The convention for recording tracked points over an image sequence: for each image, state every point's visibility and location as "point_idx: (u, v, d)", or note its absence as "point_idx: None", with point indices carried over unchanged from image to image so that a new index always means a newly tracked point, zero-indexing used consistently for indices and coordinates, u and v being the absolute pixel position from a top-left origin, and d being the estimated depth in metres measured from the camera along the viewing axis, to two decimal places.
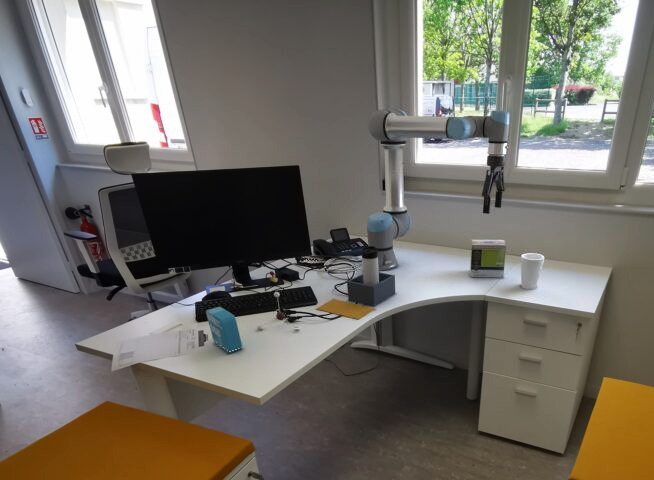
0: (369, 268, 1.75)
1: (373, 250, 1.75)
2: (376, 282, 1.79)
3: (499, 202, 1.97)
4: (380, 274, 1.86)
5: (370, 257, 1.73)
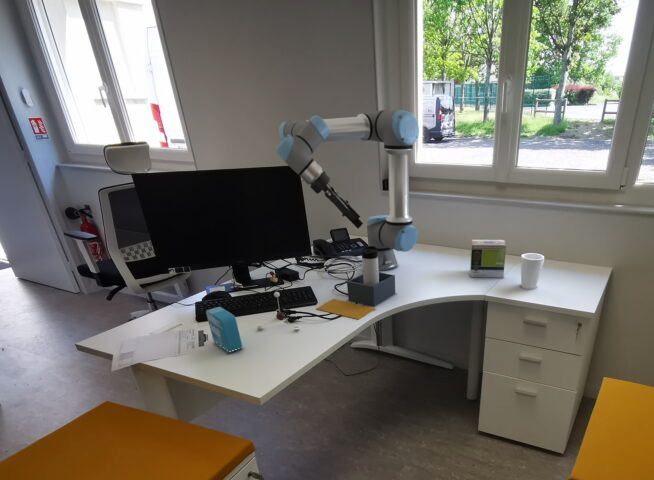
0: (369, 268, 1.75)
1: (373, 250, 1.75)
2: (376, 282, 1.79)
3: None
4: (380, 274, 1.86)
5: (370, 257, 1.73)
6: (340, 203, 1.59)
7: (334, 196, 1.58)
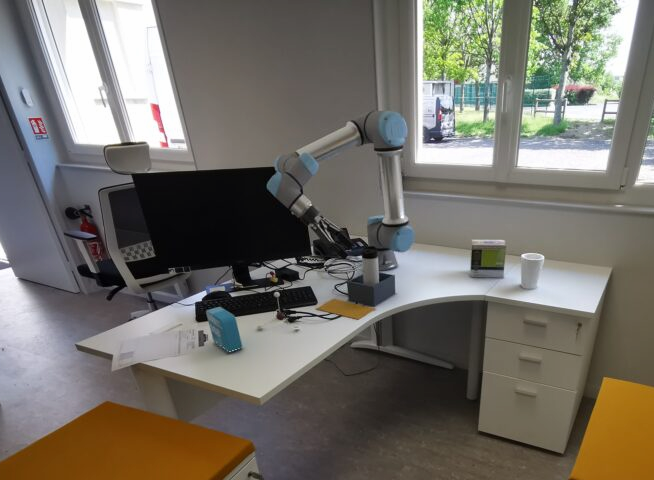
0: (369, 268, 1.75)
1: (373, 250, 1.75)
2: (376, 282, 1.79)
3: None
4: (380, 274, 1.86)
5: (370, 257, 1.73)
6: (324, 236, 1.64)
7: (319, 230, 1.64)
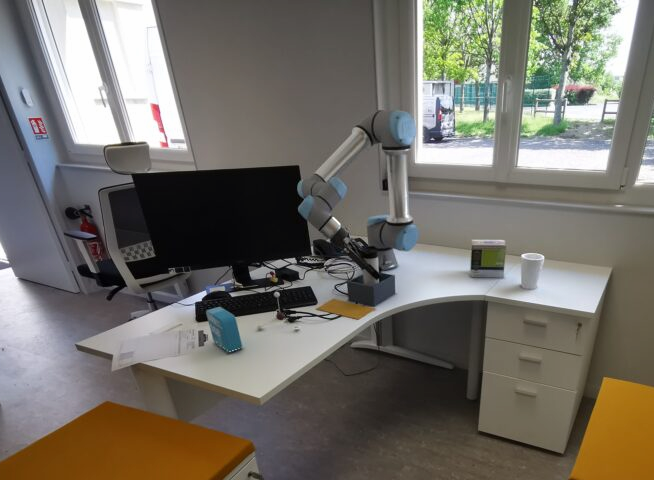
0: None
1: (373, 250, 1.75)
2: (376, 282, 1.79)
3: None
4: None
5: (370, 257, 1.73)
6: (358, 259, 1.70)
7: (352, 253, 1.69)
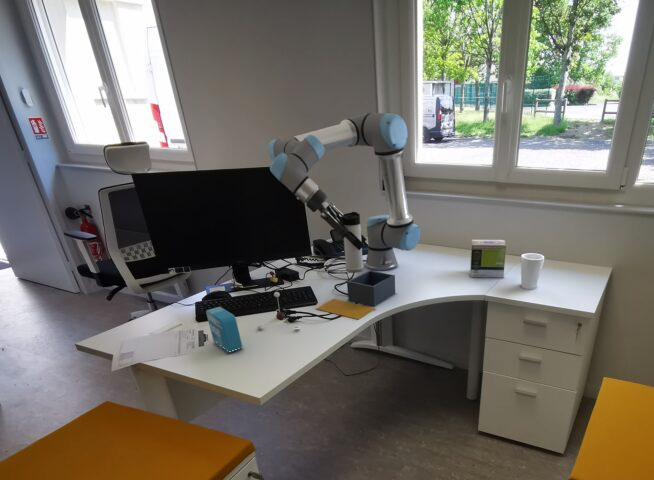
0: None
1: (355, 216, 1.57)
2: (359, 252, 1.62)
3: None
4: (380, 274, 1.86)
5: (352, 223, 1.56)
6: (338, 226, 1.52)
7: (331, 218, 1.52)
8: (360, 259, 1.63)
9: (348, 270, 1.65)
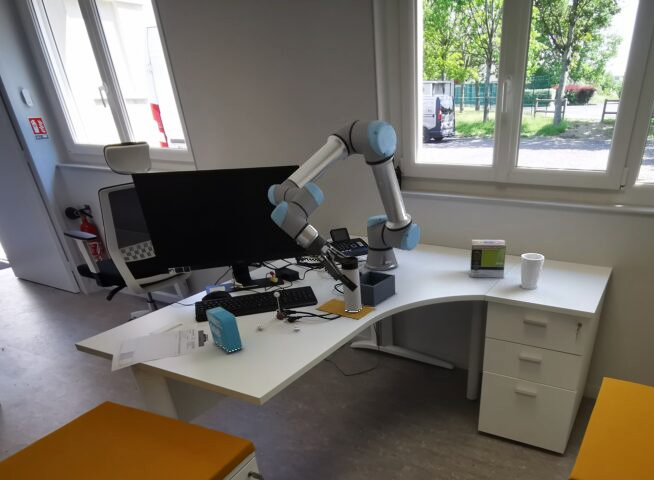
0: None
1: (353, 260, 1.62)
2: (357, 294, 1.67)
3: None
4: (380, 274, 1.86)
5: (350, 268, 1.61)
6: (332, 269, 1.55)
7: (326, 261, 1.55)
8: (358, 300, 1.69)
9: None
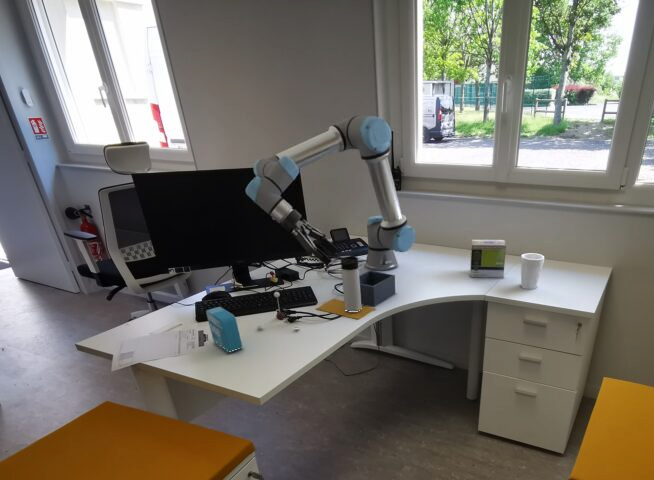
0: (349, 280, 1.63)
1: (353, 260, 1.62)
2: (357, 294, 1.67)
3: None
4: (380, 274, 1.86)
5: (350, 268, 1.61)
6: (306, 242, 1.59)
7: (300, 235, 1.59)
8: (358, 300, 1.69)
9: None
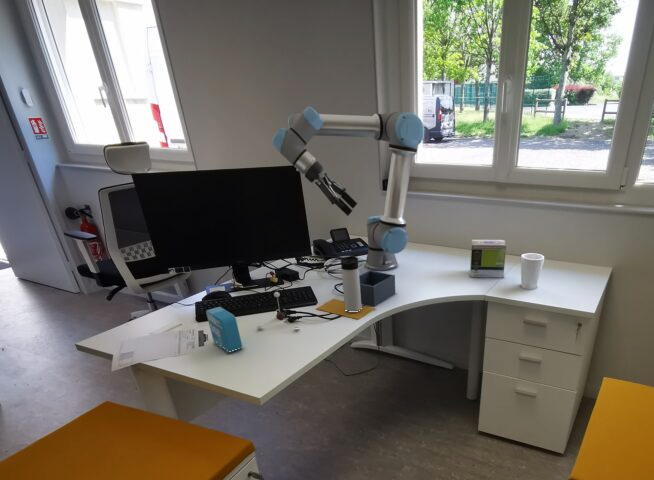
0: (349, 280, 1.63)
1: (353, 260, 1.62)
2: (357, 294, 1.67)
3: None
4: (380, 274, 1.86)
5: (350, 268, 1.61)
6: (328, 191, 1.67)
7: (323, 185, 1.67)
8: (358, 300, 1.69)
9: None
